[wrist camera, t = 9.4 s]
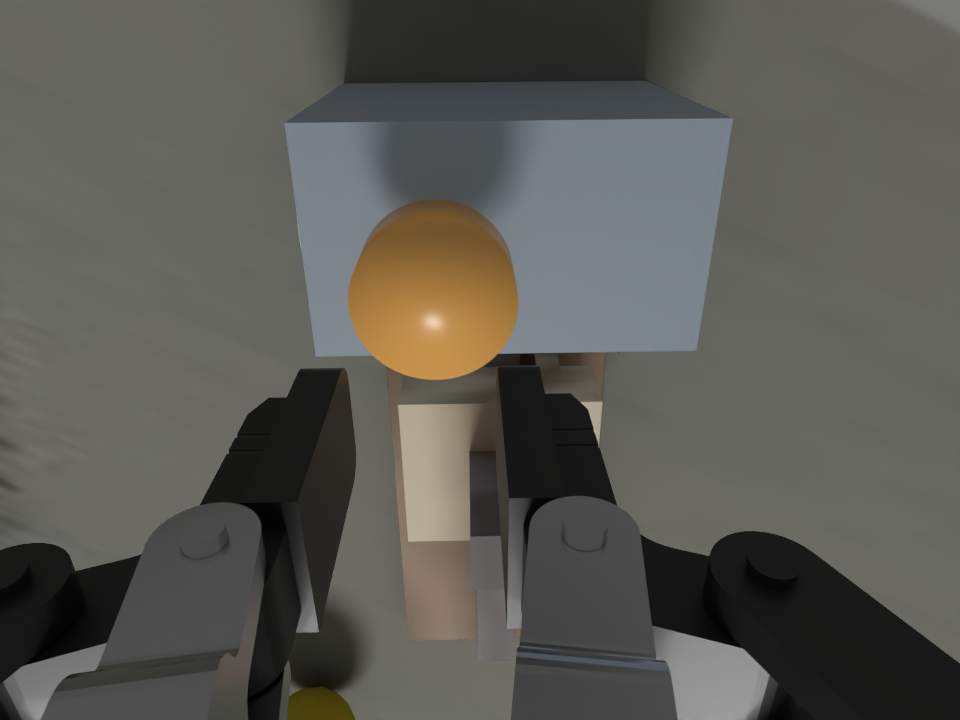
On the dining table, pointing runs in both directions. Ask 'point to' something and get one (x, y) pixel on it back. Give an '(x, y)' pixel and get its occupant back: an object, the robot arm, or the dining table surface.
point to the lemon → (318, 705)
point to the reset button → (434, 291)
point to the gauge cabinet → (524, 200)
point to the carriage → (468, 457)
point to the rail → (458, 553)
